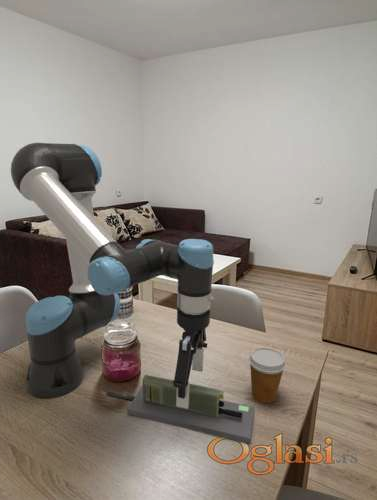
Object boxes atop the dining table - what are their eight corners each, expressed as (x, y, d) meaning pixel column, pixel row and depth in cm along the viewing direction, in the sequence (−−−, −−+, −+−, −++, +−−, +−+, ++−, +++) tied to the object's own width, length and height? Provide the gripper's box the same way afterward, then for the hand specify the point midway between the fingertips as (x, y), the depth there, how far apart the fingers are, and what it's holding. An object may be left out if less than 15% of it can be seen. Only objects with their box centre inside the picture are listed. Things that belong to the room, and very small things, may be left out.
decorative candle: (127, 308, 137) (125, 251, 131) (138, 317, 130) (137, 256, 124) (107, 314, 132) (103, 255, 125) (117, 323, 125) (114, 261, 118)
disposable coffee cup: (286, 392, 90) (291, 354, 87) (274, 413, 82) (279, 372, 79) (254, 379, 95) (257, 342, 92) (239, 398, 87) (242, 358, 84)
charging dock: (96, 406, 83) (96, 401, 83) (115, 382, 93) (115, 377, 92) (249, 443, 73) (250, 438, 73) (253, 412, 83) (254, 406, 82)
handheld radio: (147, 393, 86) (242, 414, 80) (142, 402, 83) (241, 425, 77) (146, 372, 84) (244, 392, 78) (141, 381, 81) (242, 402, 75)
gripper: (195, 339, 62) (191, 430, 68) (220, 289, 85) (215, 360, 91) (158, 332, 63) (157, 421, 69) (192, 285, 87) (189, 355, 93)
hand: (190, 387), depth 80 cm, fingers open, 13 cm apart
